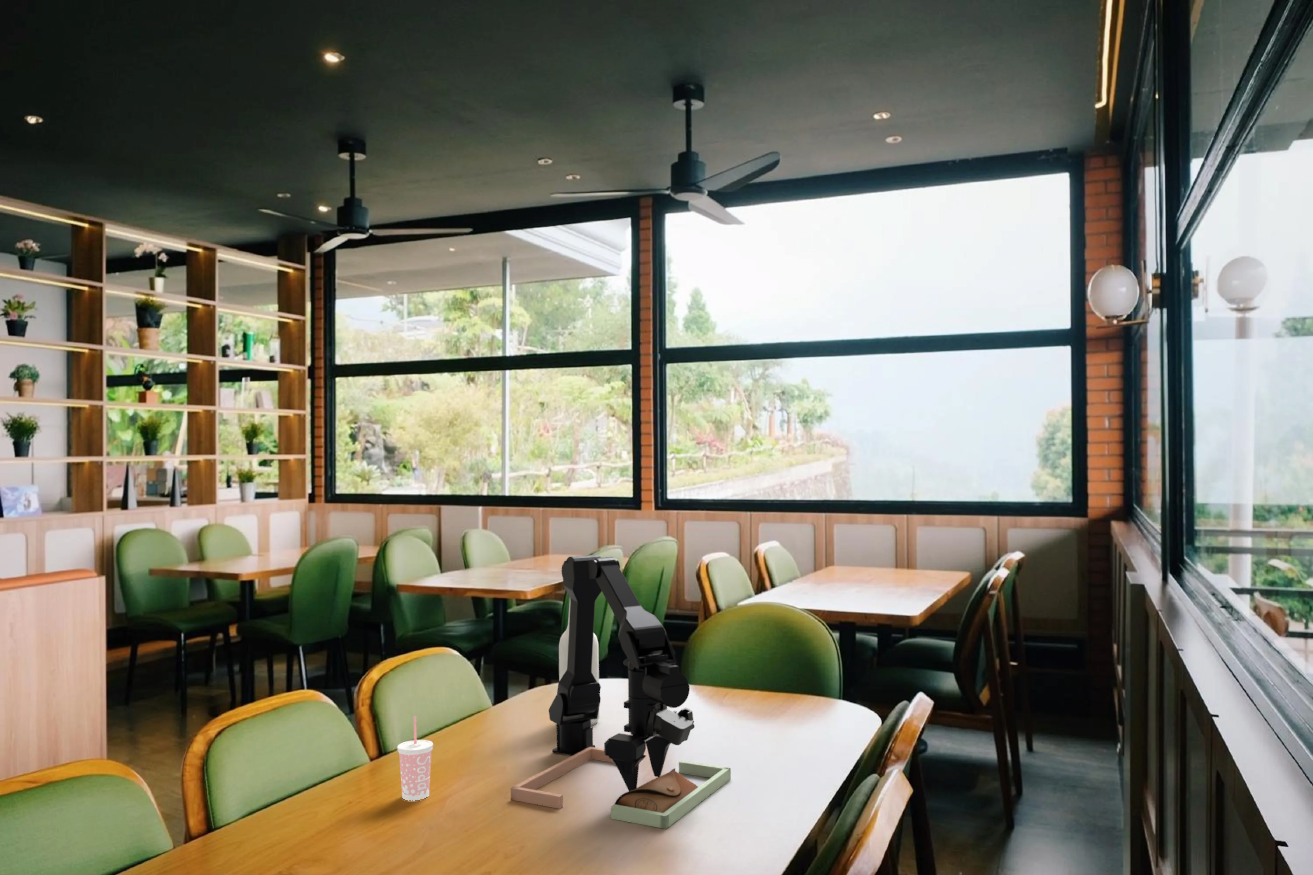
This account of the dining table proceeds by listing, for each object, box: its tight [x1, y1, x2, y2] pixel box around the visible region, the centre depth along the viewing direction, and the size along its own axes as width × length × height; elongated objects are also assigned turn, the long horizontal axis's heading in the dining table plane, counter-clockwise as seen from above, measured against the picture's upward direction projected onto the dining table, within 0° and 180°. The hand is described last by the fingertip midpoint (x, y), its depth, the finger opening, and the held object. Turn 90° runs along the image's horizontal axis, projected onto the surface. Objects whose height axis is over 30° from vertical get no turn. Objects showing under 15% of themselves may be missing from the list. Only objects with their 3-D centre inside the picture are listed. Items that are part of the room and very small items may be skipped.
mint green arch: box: [610, 760, 732, 830], centre depth 164 cm, size 10×26×2 cm, turn 152°
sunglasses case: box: [614, 768, 699, 813], centre depth 162 cm, size 18×7×7 cm
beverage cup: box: [397, 715, 434, 802], centre depth 167 cm, size 6×6×14 cm
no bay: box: [510, 746, 614, 810], centre depth 174 cm, size 10×26×2 cm, turn 153°
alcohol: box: [558, 601, 600, 727], centre depth 213 cm, size 9×9×30 cm
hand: (645, 784), depth 167 cm, fingers open, 9 cm apart
